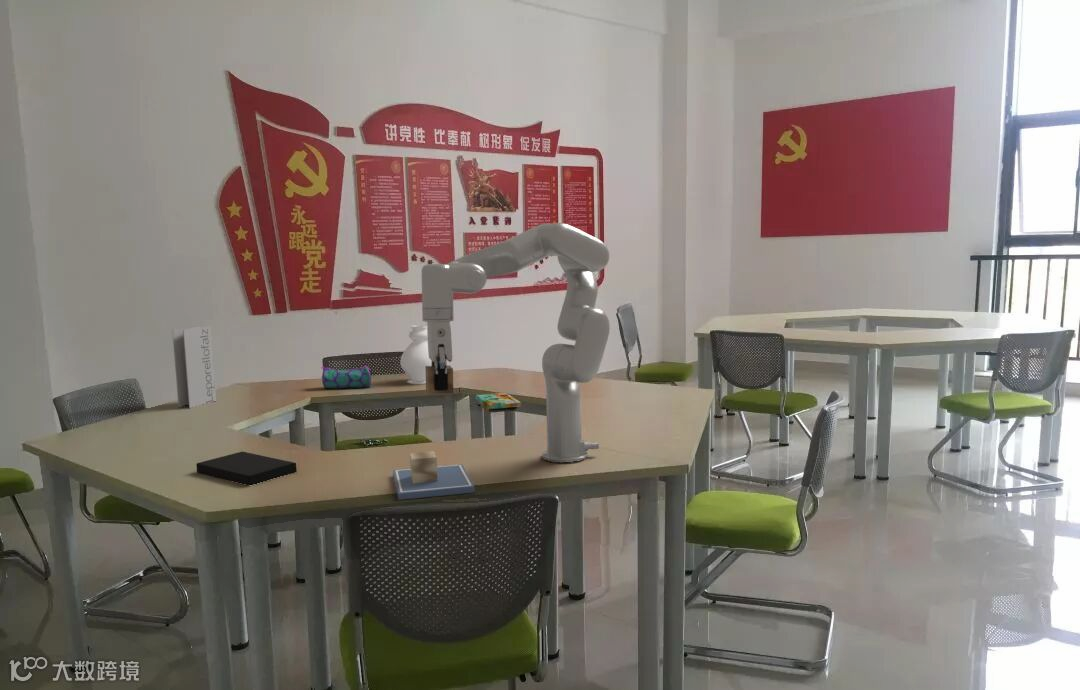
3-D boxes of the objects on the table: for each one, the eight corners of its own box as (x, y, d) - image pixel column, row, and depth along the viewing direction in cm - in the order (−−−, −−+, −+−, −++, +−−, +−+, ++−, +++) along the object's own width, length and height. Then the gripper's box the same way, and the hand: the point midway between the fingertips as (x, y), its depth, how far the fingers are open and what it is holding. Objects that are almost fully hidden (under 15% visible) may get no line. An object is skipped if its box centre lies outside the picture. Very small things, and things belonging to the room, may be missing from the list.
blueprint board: (462, 469, 204) (462, 463, 204) (474, 492, 185) (474, 485, 185) (393, 476, 200) (393, 470, 200) (398, 499, 181) (398, 493, 180)
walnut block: (449, 389, 194) (449, 365, 193) (453, 393, 188) (452, 368, 187) (425, 390, 192) (425, 366, 191) (428, 394, 186) (428, 369, 186)
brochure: (189, 408, 294) (183, 330, 291) (178, 407, 296) (172, 330, 292) (216, 401, 308) (210, 326, 304) (205, 400, 310) (199, 326, 306)
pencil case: (373, 385, 337) (372, 363, 336) (371, 388, 329) (370, 366, 327) (324, 387, 335) (323, 365, 334) (321, 391, 326) (319, 368, 325)
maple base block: (434, 474, 195) (433, 451, 195) (437, 481, 190) (436, 457, 189) (410, 476, 194) (409, 453, 193) (412, 483, 188) (411, 459, 187)
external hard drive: (250, 487, 194) (249, 476, 194) (197, 474, 207) (196, 463, 206) (296, 473, 206) (296, 462, 205) (243, 461, 219) (242, 451, 218)
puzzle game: (505, 390, 293) (521, 400, 274) (506, 402, 293) (521, 413, 274) (475, 393, 289) (489, 402, 270) (475, 405, 289) (489, 416, 271)
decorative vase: (407, 378, 352) (405, 324, 349) (445, 378, 350) (443, 323, 347) (396, 385, 335) (393, 328, 332) (436, 385, 333) (434, 327, 330)
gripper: (458, 317, 180) (459, 393, 182) (448, 312, 197) (449, 382, 199) (426, 317, 179) (428, 394, 181) (418, 312, 195) (420, 383, 197)
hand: (439, 387), depth 190 cm, fingers closed on walnut block, 6 cm apart
